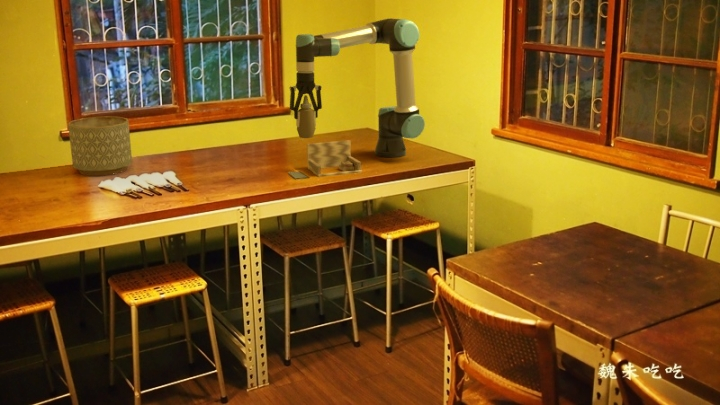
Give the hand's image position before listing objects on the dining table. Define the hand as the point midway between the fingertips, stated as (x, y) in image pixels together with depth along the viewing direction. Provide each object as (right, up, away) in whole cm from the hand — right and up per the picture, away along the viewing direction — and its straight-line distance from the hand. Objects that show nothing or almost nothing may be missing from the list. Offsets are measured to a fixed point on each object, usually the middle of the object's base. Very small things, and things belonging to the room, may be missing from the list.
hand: (306, 125), depth 341 cm
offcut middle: (+17, -18, +12) cm, 28 cm away
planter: (-92, -19, +17) cm, 96 cm away
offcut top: (+17, -17, +12) cm, 27 cm away
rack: (+12, -19, +11) cm, 25 cm away
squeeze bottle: (0, -5, +1) cm, 5 cm away
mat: (-2, -21, +5) cm, 22 cm away
